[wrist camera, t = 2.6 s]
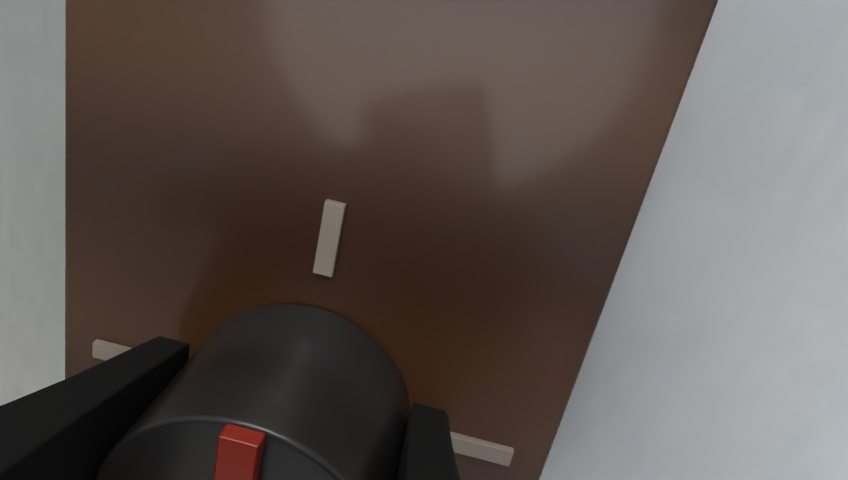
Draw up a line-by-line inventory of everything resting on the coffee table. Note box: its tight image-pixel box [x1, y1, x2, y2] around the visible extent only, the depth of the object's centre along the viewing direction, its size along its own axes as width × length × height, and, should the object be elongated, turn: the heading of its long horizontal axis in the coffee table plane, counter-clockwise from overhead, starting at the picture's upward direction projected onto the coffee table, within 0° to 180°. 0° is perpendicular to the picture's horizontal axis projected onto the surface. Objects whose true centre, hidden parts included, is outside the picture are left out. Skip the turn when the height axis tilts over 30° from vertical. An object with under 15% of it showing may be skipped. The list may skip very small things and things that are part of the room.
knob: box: [96, 304, 410, 480], centre depth 11 cm, size 4×4×4 cm
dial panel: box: [65, 0, 718, 480], centre depth 13 cm, size 14×10×3 cm
